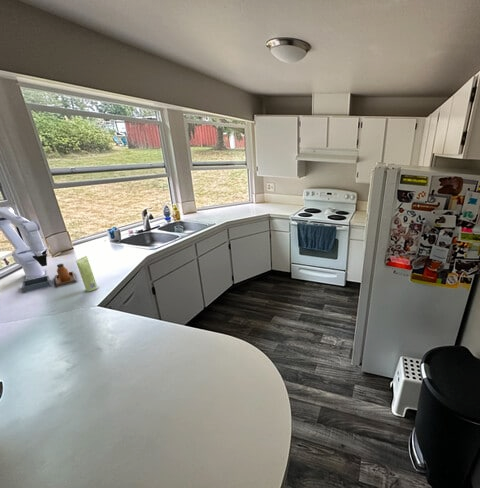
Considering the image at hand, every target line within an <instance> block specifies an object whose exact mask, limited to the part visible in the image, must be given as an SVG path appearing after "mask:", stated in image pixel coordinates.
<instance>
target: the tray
mask: <svg viewBox="0 0 480 488" xmlns="http://www.w3.org/2000/svg"><path fill="white" fill-rule="evenodd" d="M68 272H69V275H70V278H71V279H70V280H67V281H60V278H59V275H58V274H55V275H54V282H55V286H56V287H62V286H65V285H70V284H74V283H77V280H76V276H75V273H74V271H68Z"/></svg>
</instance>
